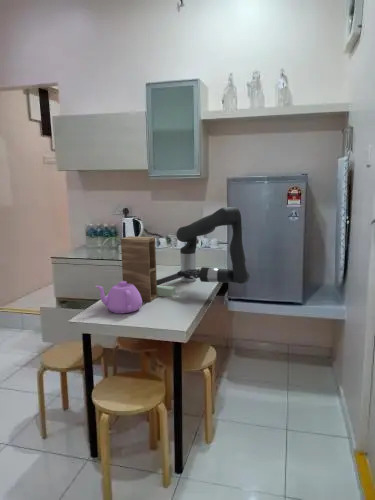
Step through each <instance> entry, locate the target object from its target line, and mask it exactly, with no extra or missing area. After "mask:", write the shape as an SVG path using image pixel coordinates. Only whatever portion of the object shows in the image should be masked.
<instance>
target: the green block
mask: <svg viewBox="0 0 375 500" xmlns="http://www.w3.org/2000/svg"><path fill="white" fill-rule="evenodd" d="M175 294H176V286H169V285H157V297H158V296H159V297H170V298H171V297H172V296H174V295H175Z"/></svg>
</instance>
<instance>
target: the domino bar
mask: <svg viewBox="0 0 375 500" xmlns="http://www.w3.org/2000/svg"><path fill="white" fill-rule="evenodd" d="M189 271H190V269H188V270H185V271H182V272H189ZM190 274H191V273H190ZM186 276H187V275H186ZM181 277H184V276H177V272H176V273H174V274H169V275H167V276H164V277H162V278H159V279H157V286H161V285H163V284H165V283H168V282H169V283H170V282H171V281H175V280H178V279H181Z"/></svg>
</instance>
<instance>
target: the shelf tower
mask: <svg viewBox="0 0 375 500" xmlns="http://www.w3.org/2000/svg"><path fill="white" fill-rule="evenodd" d="M120 249H121V251H120V252H121V271H122V272H121V273H122V281H126V282H127V283H128V284H133V285H134V286H135V287H136V288H137V290H138V291H139V293H140V295H141V298H142V302H146V303H147V302H148V303H151V302H152V301H154V300H155V299H157V298H158V296H157V286H158V285H157V280H158V279H157V278H158V277H157V255H156V254H157V252H156V237H155V236H133V235H131V236H129V235H128V236H126V237H121V238H120Z"/></svg>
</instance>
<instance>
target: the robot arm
mask: <svg viewBox="0 0 375 500" xmlns="http://www.w3.org/2000/svg"><path fill="white" fill-rule="evenodd" d="M223 226H224V227H225V226H231V228H232V236H231V241H230V244H229V254H230V260H231V261H230V262H231V263H232V264H231V265H232V266H231V267H232V269H230V268H219V267H206V266H205V267H204V266H203V267H201V268H199V269H197V268H196V267H197V266H196V265H197V263H196V261H197V260H196V259H197V258H196V257H197V256H196V250H197V240H198V238H197V237H202V236H206V235H208V234H211V233H212V232H214V231H215V230H216V228H218V227H223ZM242 230H243V228H242V215H241V210H240V209H239V208H238V207H235V206H226V207H225V206H224V207H221V208H219V209H217V210H216V211H214V212H213V213H212V214H209V215H206V216H204V217H202V218H200V219H198V220H196V221H193V222H192V223H190V224H188V225H185V226H181V227H179V228H178V229H177V231H176V238H177V240H178V241H179V242H180V243H186V244H184V245H183V246H182V247H181V248H179V249H180V254H179V255H180V258H179V259H180V270H179V271H178V272H176V273H177V276H184V277H181V278H180V281H181V282H183V283H191V282H192V283H193V282H196V281H197V279H199V281H200V282H201V283H232V284H233V283H235V284H240V285H241V284H246V283H248V282H249V280H250V277H251V275H250V273H249V272H248V270H247V267H246V254H245V251H244V244H243V231H242ZM188 269H190V271H189V272H182V271H185V270H188ZM190 273H191V274H190ZM186 275H187V276H186Z"/></svg>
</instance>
